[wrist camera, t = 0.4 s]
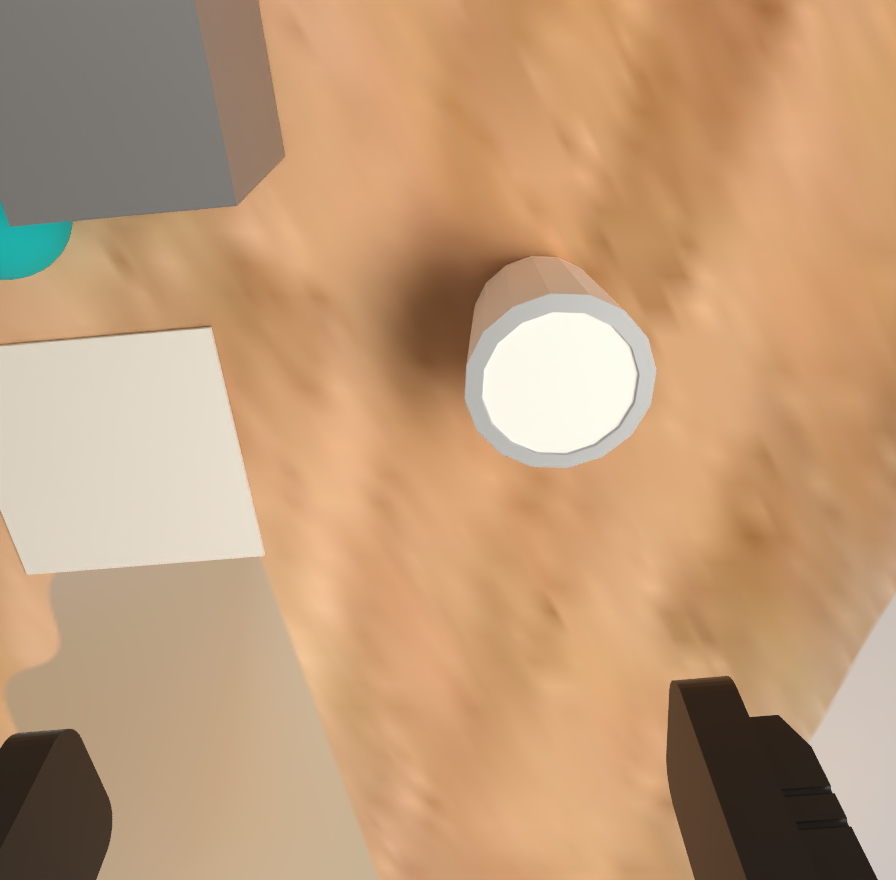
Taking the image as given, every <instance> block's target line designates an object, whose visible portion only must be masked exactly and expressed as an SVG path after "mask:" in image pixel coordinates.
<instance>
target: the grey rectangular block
mask: <svg viewBox="0 0 896 880" xmlns="http://www.w3.org/2000/svg"><path fill="white" fill-rule="evenodd" d="M284 157H285V153H284V147H283V141H282V136H281V130H280V124H279V118H278V113H277V107H276V101H275V95H274V89H273V84H272V78H271V72H270V66H269V61H268V55H267V49H266V43H265V38H264V32H263V26H262V20H261V15H260V9H259V3H258V0H0V200H1V203H2V206H3V209H4V212H5V214H6V217H7V220H8V223H9V226H10V227H13V226H24V225H34V224H45V223H56V222H67V221H78V220H89V219H100V218H110V217H121V216H132V215H143V214H154V213H165V212H176V211H186V210H197V209H208V208H219V207H230V206H237V205H238V204H239V203H240V202H241V201H242V200H243V199H244V198H245V197H246V196H247V195H248V194H249V193H250V192H251V191H252V190H253V189H254V188H255V187H256V186H257V185H258V184H259V183H260V182H261V181H262V180H263V179H264V178H265V177H266V176H267V175H268V174H269V173H270V172H271V171H272V169H273V168H274V167H275V166H276V165H277V164H278V163H279V162H280V161H281V160H282V159H283V158H284Z"/></svg>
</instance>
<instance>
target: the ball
mask: <svg viewBox="0 0 896 880" xmlns="http://www.w3.org/2000/svg"><path fill="white" fill-rule="evenodd" d="M71 229H72V221H67V222H56V223H45V224H34V225H24V226H13V227H10V226H9V223H8V220H7V217H6V214H5V212H4V209H3V206H2V203H1V200H0V280H12V279H19V278H24V277H28V276H31V275H33V274H36V273H38V272H40V271H42V270H44V269H45V268H47V267H48V266H49V265H51V264H52V263H53V262H54V261H55V260H56V259H57V258H58V257H59V256H60V254H61V253H62V252H63V250H64V248H65V247H66V245H67V243H68V240H69V237H70V234H71Z"/></svg>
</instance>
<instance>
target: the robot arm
mask: <svg viewBox="0 0 896 880" xmlns="http://www.w3.org/2000/svg"><path fill="white" fill-rule="evenodd" d="M666 763H667V775H668V782H669V788H670V793H671V798H672V803H673V806H674V810H675V813H676V817H677V820H678V824H679V827H680V830H681V834H682V837H683V841H684V844H685V847H686V851H687V854H688V858H689V861H690V864H691V868H692V871H693V875H694V878H695V880H878V879H877V878H876V875H875V873H874V871H873V870H872V867H871V865H870V863H869V861H868V859H867V857H866V855H865V853H864V851H863V849H862V847H861V845H860V843H859V841H858V839H857V837H856V835H855V833H854V831H853V829H852V827H849V825H848V823H847V817H846V815H845V814H844V811H843V809H842V807H841V805H840V803H839V801H838V799H837V797H836V795H835V794H834V793H832V791H831V785H830V783H829V781H828V779H827V777H826V775H825V773H824V771H823V769H822V767H821V765H820V764H819V761H818V759H817V757H816V755H815V753H814V751H813V749H812V747H811V746H810V745H809V744H808V743H807V742H806V741H805V740H804V739H803V738H802V737H801V736H800V735H799V734H798V733H797V732H796V731H795V730H793V729H792V728H791V727H790V726H789V725H788V724H787V723H786V722H785V721H784V720H783V719H782V718H781V717H780V716H779V715H771V716H759V717H749V715H748V712H747V710H746V708H745V706H744V703H743V701H742V699H741V696H740V694H739V692H738V689H737V687H736V685H735V683H734V682H733V680H732V679H731V678H730V677H729V676H722V677H710V678H698V679H687V680H675V681H672V682H671V684H670V690H669V710H668V731H667V753H666ZM111 831H112V810H111V804H110V801H109V798H108V796H107V793H106V791H105V789H104V787H103V784H102V783H101V780H100V778H99V776H98V774H97V771H96V769H95V767H94V765H93V763H92V761H91V758H90V756H89V754H88V752H87V750H86V748H85V745H84V743H83V741H82V739H81V737H80V735H79V734H78V733H77V732H76V731H75V730H73V729H62V730H50V731H39V732H26V733H16V734H14V735H12V736H10V737H9V738H8V739H7V740H6V741H5V742H4V744H3V745H2V747H1V748H0V880H96V879H97V876H98V873H99V871H100V868H101V865H102V863H103V860H104V858H105V855H106V852H107V849H108V846H109V842H110V838H111Z"/></svg>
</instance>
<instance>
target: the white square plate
mask: <svg viewBox="0 0 896 880" xmlns="http://www.w3.org/2000/svg"><path fill="white" fill-rule="evenodd" d="M0 511H1V513H2V515H3V518H4V520H5V523H6V525H7V527H8V530H9V532H10V535H11V537H12V540H13V542H14V544H15V547H16V549H17V552H18V554H19V556H20V559H21V561H22V564H23V566H24V569H25V571H26V573H27V575H31V574H44V573H56V572H68V571H81V570H93V569H105V568H118V567H131V566H143V565H156V564H168V563H180V562H192V561H205V560H217V559H230V558H243V557H255V556H264V555H265V551H264V546H263V542H262V538H261V534H260V530H259V525H258V521H257V517H256V513H255V508H254V504H253V500H252V496H251V492H250V487H249V483H248V479H247V475H246V470H245V466H244V462H243V458H242V454H241V449H240V445H239V441H238V437H237V432H236V428H235V424H234V420H233V416H232V411H231V407H230V403H229V399H228V395H227V390H226V386H225V382H224V378H223V373H222V369H221V365H220V361H219V357H218V352H217V348H216V344H215V340H214V335H213V331H212V327H211V326H210V327H199V328H187V329H176V330H165V331H153V332H142V333H131V334H119V335H108V336H97V337H85V338H74V339H63V340H51V341H40V342H29V343H17V344H6V345H0Z"/></svg>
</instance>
